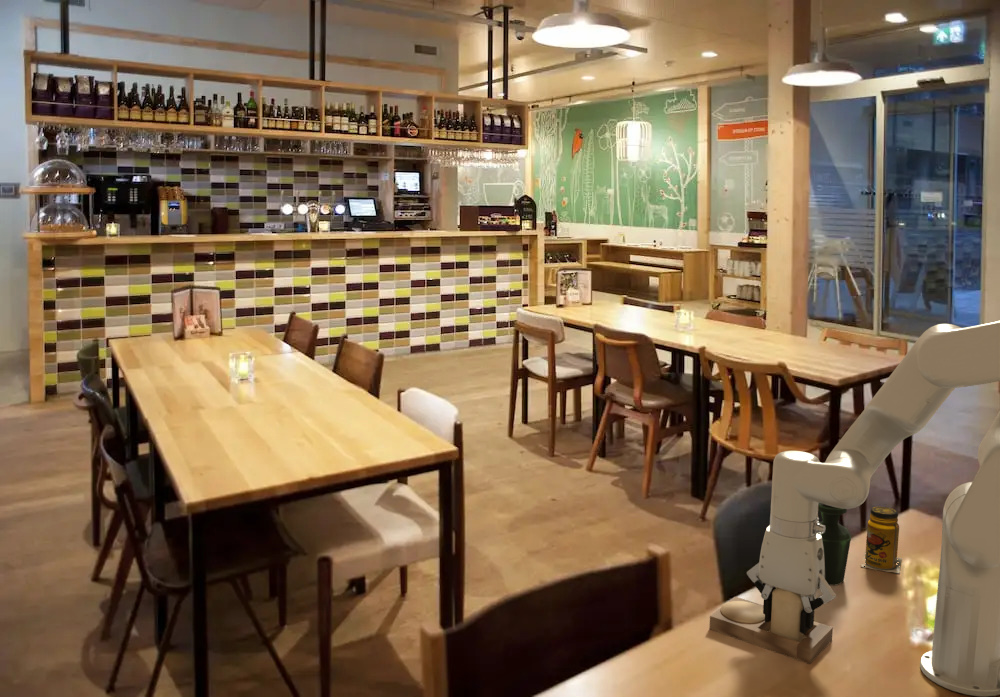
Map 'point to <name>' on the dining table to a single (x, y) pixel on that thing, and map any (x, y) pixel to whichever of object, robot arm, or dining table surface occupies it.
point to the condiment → (882, 540)
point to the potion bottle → (834, 543)
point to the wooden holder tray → (751, 627)
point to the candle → (786, 614)
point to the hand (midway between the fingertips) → (787, 623)
